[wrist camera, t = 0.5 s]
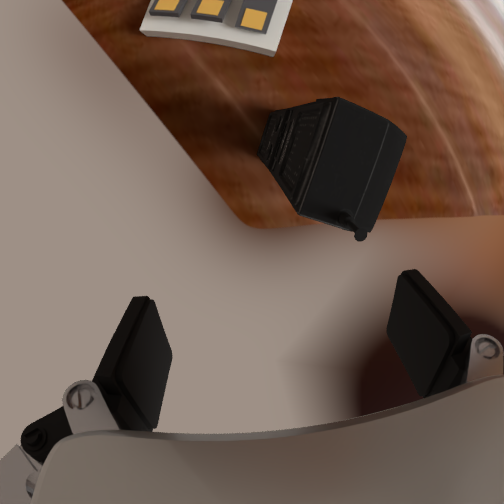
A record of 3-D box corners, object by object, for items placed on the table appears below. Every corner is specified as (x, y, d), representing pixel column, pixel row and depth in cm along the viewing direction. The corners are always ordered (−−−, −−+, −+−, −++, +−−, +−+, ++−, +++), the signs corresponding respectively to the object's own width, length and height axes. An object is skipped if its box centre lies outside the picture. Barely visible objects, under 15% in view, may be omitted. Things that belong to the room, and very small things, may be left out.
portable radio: (273, 101, 32) (334, 60, 10) (317, 116, 33) (439, 118, 10) (254, 158, 35) (278, 225, 13) (299, 172, 36) (386, 257, 14)
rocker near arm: (251, -19, 21) (251, -23, 20) (281, -12, 22) (282, -16, 20) (235, 28, 25) (234, 26, 24) (265, 35, 26) (266, 33, 24)
